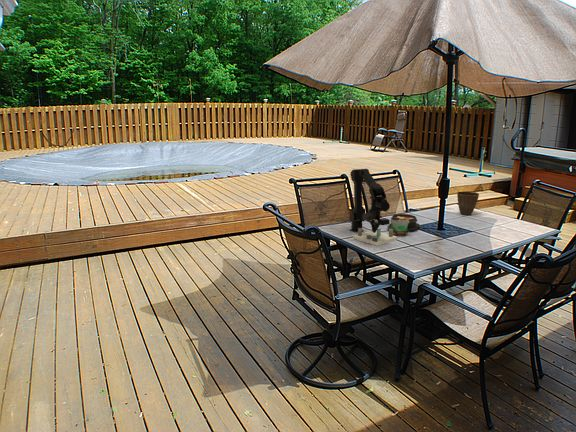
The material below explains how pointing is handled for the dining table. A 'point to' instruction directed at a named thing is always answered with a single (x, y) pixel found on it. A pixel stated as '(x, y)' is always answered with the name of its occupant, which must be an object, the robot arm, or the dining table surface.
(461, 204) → the plant pot
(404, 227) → the food container
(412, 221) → the casserole
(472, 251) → the dining table surface
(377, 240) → the cream square peg board
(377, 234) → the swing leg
